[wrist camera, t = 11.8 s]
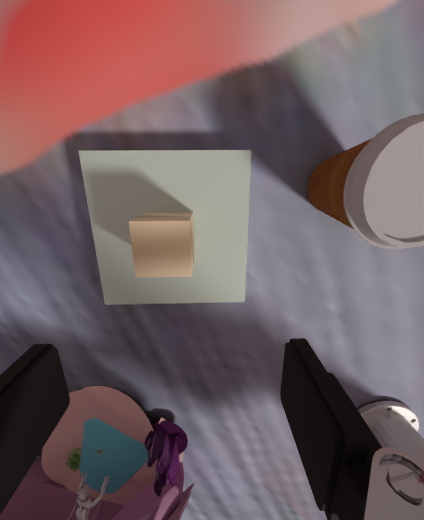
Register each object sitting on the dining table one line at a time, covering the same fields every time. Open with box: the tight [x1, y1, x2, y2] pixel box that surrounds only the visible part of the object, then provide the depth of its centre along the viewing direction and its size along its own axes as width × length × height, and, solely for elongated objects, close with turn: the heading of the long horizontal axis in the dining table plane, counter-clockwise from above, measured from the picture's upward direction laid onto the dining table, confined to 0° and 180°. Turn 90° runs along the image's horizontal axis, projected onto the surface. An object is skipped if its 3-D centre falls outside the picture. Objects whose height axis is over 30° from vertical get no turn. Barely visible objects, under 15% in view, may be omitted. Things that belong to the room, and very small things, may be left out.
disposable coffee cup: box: [308, 114, 424, 249], centre depth 22 cm, size 10×10×12 cm
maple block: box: [129, 212, 195, 278], centre depth 23 cm, size 5×5×6 cm
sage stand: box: [78, 150, 251, 305], centre depth 27 cm, size 17×17×3 cm
